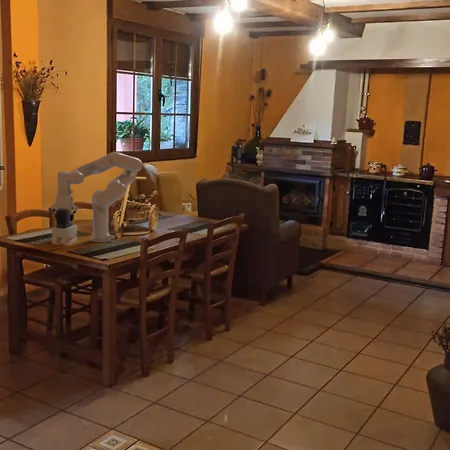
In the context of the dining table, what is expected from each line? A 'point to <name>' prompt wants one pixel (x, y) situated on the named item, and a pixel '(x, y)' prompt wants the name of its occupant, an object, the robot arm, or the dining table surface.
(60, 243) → the tower base
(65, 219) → the small box
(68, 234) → the tower top
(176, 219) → the dining table surface
